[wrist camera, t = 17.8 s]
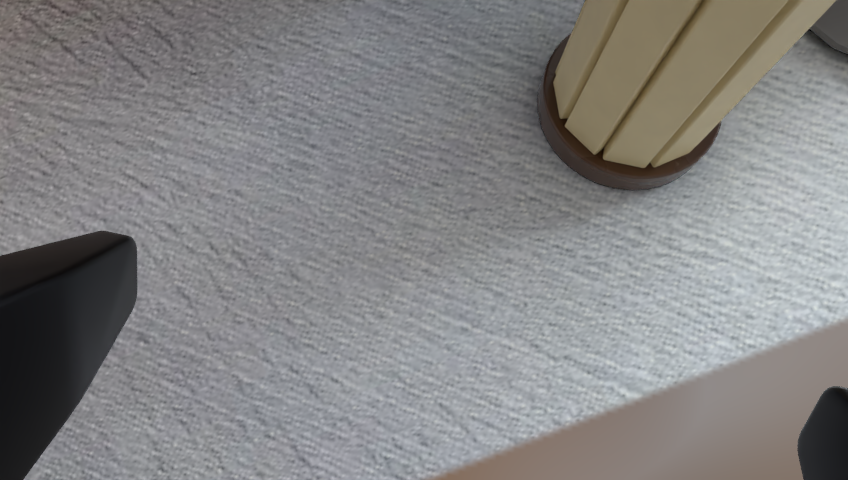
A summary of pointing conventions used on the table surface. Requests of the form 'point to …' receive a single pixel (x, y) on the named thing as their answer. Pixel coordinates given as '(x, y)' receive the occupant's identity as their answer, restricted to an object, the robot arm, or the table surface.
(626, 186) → the brown peg stand
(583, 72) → the tube
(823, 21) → the cup
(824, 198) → the table surface
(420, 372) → the table surface
